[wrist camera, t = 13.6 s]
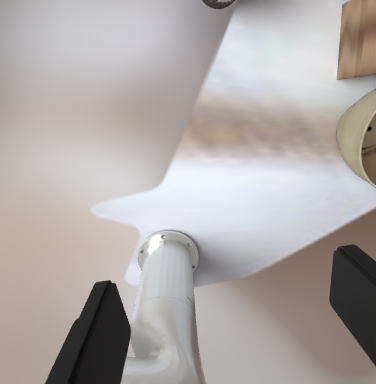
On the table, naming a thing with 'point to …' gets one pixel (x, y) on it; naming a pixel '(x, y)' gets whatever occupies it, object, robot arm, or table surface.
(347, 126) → the planter bowl
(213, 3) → the coffee mug
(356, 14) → the wooden tray
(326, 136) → the table surface
